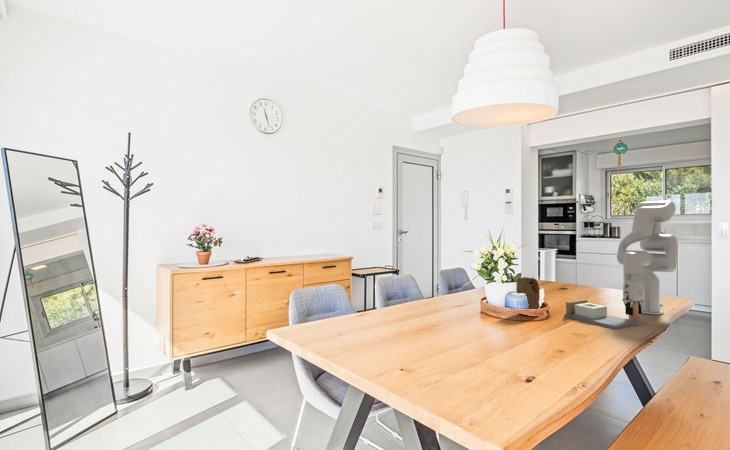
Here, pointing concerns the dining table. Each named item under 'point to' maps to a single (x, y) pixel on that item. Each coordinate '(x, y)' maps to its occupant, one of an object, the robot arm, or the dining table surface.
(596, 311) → the socket block
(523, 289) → the block
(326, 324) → the dining table surface
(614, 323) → the stop board
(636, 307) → the orange rectangular post
